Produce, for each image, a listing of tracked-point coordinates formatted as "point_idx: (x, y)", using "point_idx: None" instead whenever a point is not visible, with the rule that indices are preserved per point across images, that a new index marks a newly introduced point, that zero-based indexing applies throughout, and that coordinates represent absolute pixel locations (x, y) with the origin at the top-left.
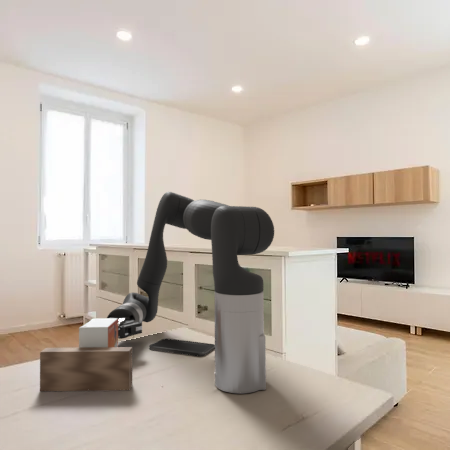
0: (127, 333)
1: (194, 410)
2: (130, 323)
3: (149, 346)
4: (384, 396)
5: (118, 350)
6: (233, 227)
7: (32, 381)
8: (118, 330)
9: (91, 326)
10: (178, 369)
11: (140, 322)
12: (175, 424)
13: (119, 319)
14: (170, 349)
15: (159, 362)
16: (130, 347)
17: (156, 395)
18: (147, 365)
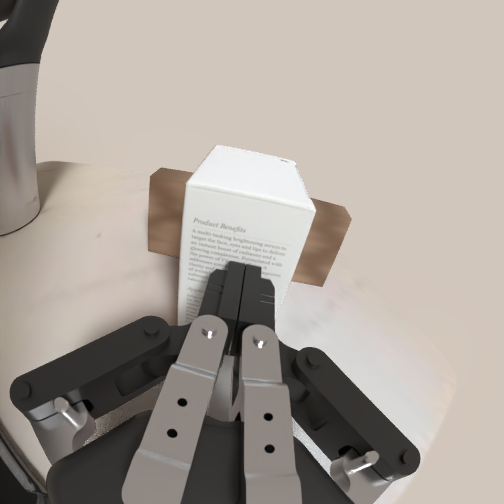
0: (124, 390)
1: (94, 190)
2: (86, 446)
3: (45, 502)
4: None
5: (182, 172)
6: None
7: (361, 308)
8: (178, 329)
9: (264, 155)
10: (34, 284)
11: (19, 389)
12: (124, 182)
13: (182, 464)
14: None
15: (48, 344)
16: (154, 175)
17: (119, 218)
18: (86, 335)
